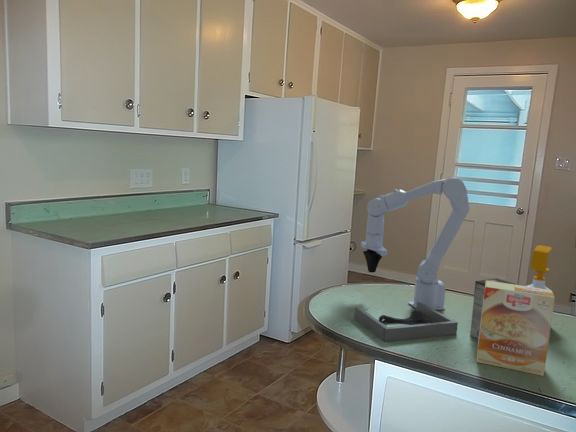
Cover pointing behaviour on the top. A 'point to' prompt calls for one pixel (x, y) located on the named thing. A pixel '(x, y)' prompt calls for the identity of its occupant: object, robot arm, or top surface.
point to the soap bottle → (540, 266)
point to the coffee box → (479, 305)
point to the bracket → (413, 319)
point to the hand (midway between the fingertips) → (371, 271)
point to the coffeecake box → (515, 327)
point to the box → (437, 328)
